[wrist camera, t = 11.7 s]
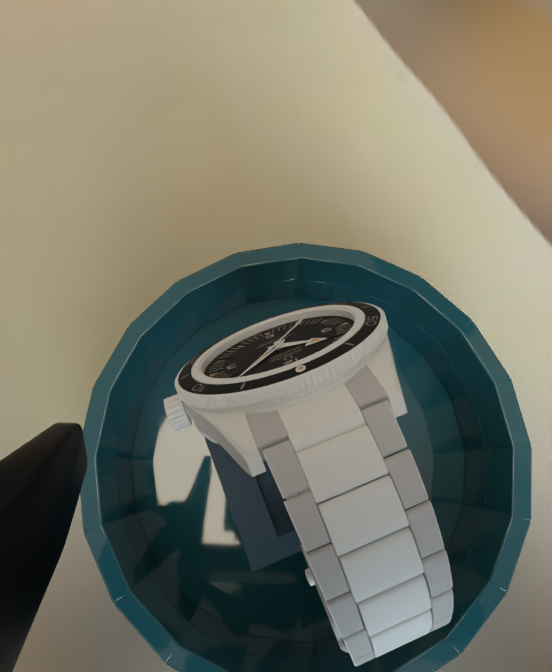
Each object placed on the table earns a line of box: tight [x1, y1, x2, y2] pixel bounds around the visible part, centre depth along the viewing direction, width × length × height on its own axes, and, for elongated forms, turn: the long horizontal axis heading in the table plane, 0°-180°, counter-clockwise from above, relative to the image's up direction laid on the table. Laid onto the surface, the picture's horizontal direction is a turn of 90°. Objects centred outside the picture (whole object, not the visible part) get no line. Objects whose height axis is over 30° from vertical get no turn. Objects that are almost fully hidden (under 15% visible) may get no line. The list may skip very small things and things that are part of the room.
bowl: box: [80, 243, 531, 672], centre depth 18 cm, size 14×14×4 cm
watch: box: [164, 302, 453, 666], centre depth 14 cm, size 6×8×11 cm
